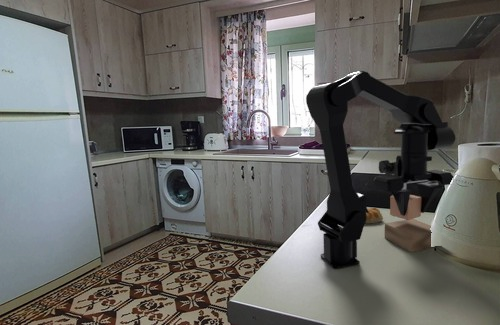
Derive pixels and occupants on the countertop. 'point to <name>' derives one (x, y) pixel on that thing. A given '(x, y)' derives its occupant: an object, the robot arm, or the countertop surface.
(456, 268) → the countertop surface
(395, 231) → the brown wooden square block
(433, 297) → the countertop surface
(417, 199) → the terracotta cube
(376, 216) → the pastry
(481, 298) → the countertop surface
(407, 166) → the robot arm
